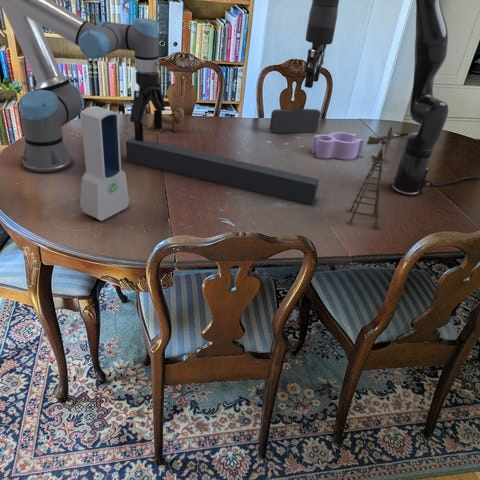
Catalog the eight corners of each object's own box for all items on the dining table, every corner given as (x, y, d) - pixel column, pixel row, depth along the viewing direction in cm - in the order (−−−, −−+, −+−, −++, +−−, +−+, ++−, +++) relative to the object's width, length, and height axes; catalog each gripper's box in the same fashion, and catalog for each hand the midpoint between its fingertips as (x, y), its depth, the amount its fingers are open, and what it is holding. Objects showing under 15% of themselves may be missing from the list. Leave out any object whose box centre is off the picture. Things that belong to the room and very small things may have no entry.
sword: (405, 131, 223) (406, 129, 223) (410, 133, 221) (411, 131, 221) (362, 143, 208) (363, 140, 207) (367, 145, 206) (368, 143, 205)
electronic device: (98, 222, 131) (90, 118, 115) (80, 214, 134) (69, 111, 118) (130, 206, 140) (126, 108, 124) (111, 198, 143) (105, 101, 127)
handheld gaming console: (314, 130, 214) (318, 108, 209) (317, 132, 212) (321, 110, 207) (268, 131, 207) (271, 109, 202) (270, 133, 205) (273, 111, 200)
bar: (126, 160, 168) (125, 141, 164) (133, 156, 172) (133, 137, 168) (312, 205, 152) (316, 185, 148) (315, 199, 156) (319, 179, 152)
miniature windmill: (376, 228, 143) (404, 134, 127) (348, 223, 144) (372, 129, 128) (375, 214, 150) (401, 124, 134) (349, 209, 151) (371, 119, 135)
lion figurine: (182, 127, 202) (182, 106, 197) (185, 131, 197) (185, 110, 193) (148, 128, 197) (147, 107, 192) (150, 132, 193) (150, 111, 188)
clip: (320, 160, 184) (324, 144, 180) (307, 148, 194) (310, 132, 190) (364, 158, 190) (368, 142, 186) (349, 146, 200) (352, 131, 196)
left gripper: (138, 81, 140) (140, 148, 151) (174, 66, 160) (174, 126, 171) (116, 77, 142) (120, 144, 153) (155, 62, 162) (156, 122, 173)
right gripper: (330, 28, 120) (319, 92, 129) (339, 22, 132) (328, 81, 141) (302, 24, 122) (293, 87, 131) (313, 19, 134) (304, 77, 142)
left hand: (149, 134), depth 162 cm, fingers open, 13 cm apart
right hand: (311, 84), depth 136 cm, fingers open, 8 cm apart
